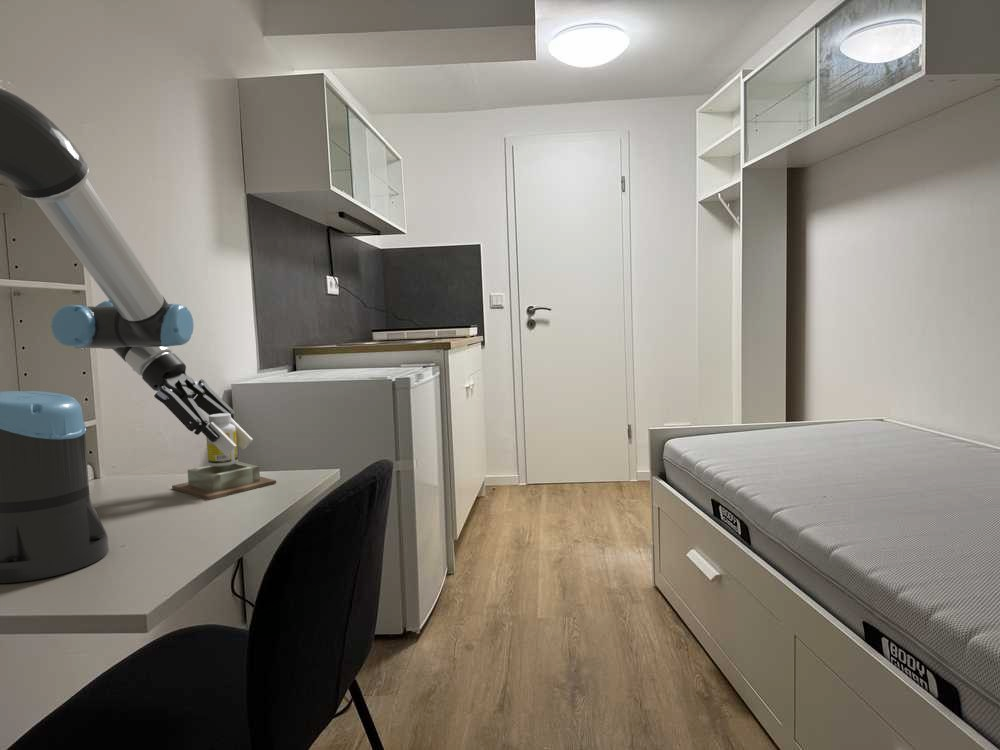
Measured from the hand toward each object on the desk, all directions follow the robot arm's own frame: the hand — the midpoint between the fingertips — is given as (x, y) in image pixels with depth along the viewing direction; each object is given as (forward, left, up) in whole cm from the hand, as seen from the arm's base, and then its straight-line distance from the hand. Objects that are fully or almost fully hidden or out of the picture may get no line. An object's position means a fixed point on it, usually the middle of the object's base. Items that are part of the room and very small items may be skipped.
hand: (239, 447), depth 128 cm
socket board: (-2, +3, -8) cm, 9 cm away
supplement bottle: (-2, +3, -4) cm, 5 cm away
